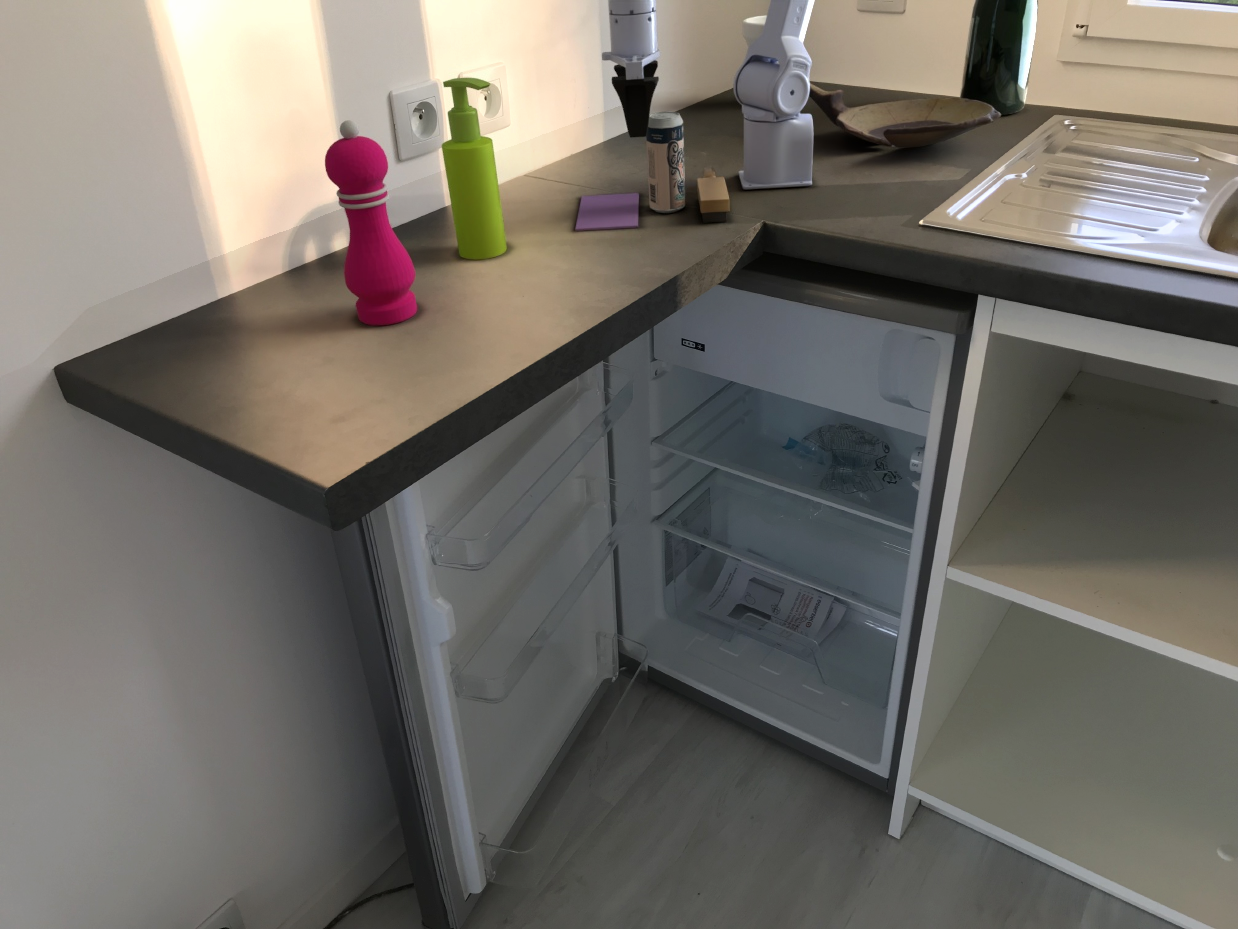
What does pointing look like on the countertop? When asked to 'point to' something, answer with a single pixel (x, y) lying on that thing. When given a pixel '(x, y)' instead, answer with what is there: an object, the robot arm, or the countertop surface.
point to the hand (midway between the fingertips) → (638, 129)
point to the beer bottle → (1000, 53)
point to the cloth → (608, 212)
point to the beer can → (666, 162)
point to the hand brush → (712, 196)
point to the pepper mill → (370, 231)
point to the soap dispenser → (472, 178)
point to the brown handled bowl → (905, 118)
